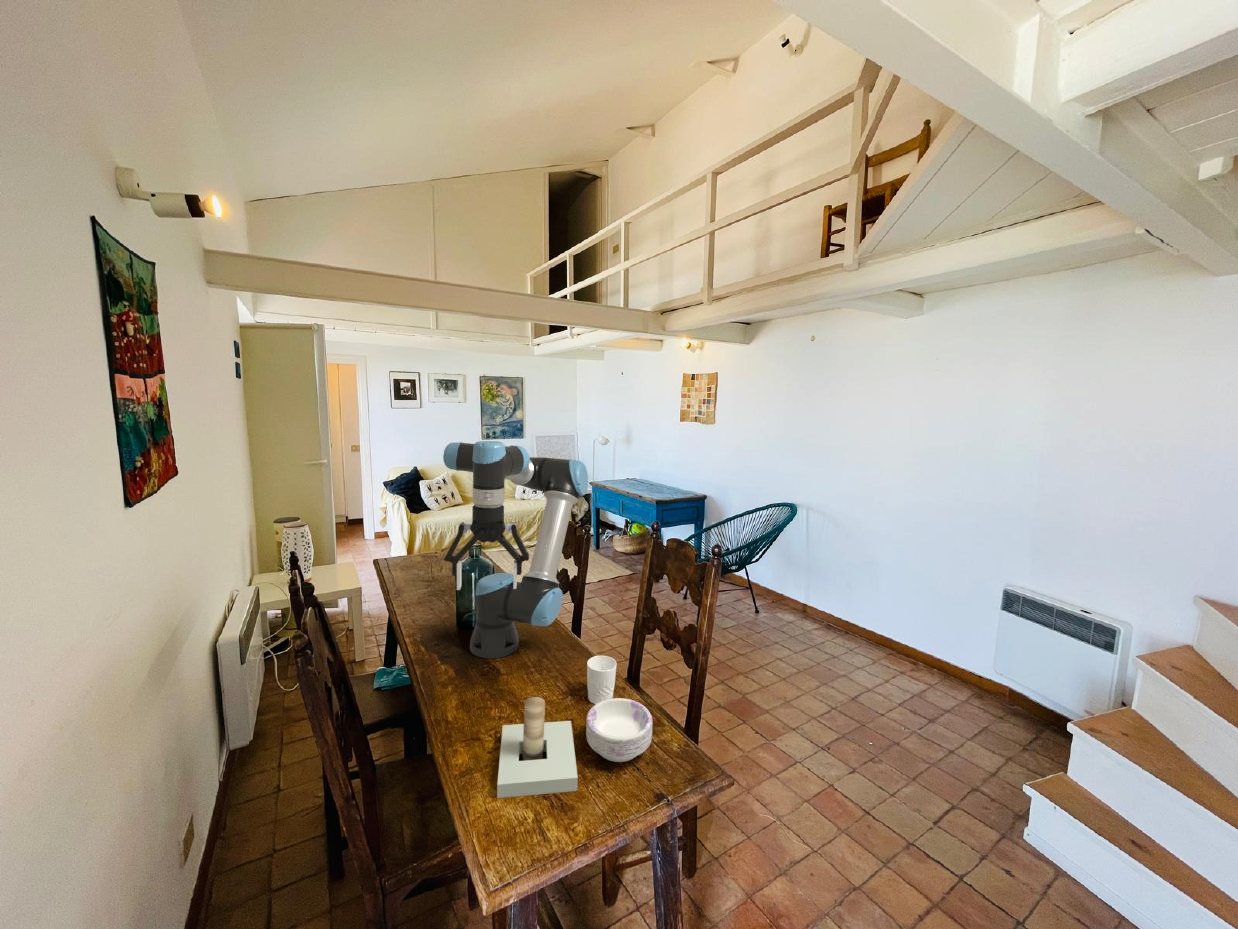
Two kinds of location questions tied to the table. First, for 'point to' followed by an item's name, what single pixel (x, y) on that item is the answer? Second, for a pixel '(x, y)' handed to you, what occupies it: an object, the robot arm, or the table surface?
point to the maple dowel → (533, 729)
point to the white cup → (600, 678)
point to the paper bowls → (619, 729)
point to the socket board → (537, 762)
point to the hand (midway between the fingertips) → (487, 587)
